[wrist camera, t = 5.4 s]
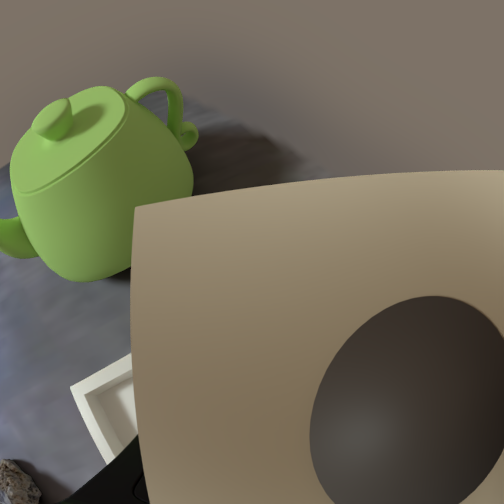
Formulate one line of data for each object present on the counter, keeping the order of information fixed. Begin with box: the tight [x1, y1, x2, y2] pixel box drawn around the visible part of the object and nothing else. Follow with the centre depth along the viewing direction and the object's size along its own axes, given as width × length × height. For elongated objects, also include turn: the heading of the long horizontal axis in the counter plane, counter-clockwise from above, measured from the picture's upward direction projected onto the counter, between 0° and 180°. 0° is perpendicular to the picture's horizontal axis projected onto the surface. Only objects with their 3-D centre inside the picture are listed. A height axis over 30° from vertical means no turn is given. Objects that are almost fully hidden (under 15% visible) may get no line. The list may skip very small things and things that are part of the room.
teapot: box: [0, 77, 199, 282], centre depth 21 cm, size 22×15×13 cm
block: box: [130, 170, 504, 504], centre depth 8 cm, size 5×5×13 cm
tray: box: [70, 353, 138, 465], centre depth 17 cm, size 12×10×2 cm
